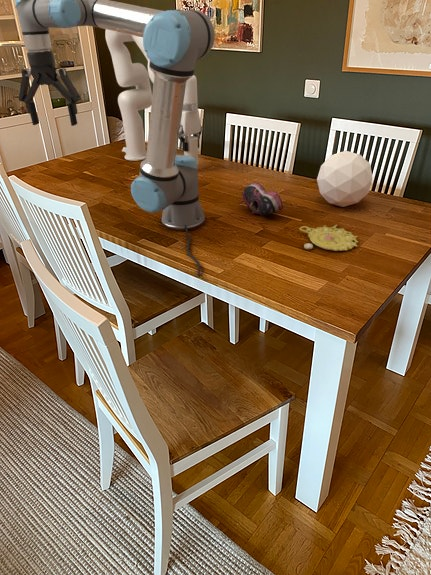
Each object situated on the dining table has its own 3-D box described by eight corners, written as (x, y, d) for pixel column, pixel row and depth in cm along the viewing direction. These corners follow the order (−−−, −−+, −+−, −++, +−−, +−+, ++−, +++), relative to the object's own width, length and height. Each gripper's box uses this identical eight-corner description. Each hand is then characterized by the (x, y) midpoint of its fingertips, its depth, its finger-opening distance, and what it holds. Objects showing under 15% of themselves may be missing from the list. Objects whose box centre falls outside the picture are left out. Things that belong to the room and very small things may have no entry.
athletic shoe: (254, 181, 170) (227, 189, 167) (283, 176, 151) (253, 185, 147) (260, 210, 173) (234, 218, 170) (290, 209, 154) (261, 219, 150)
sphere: (348, 225, 166) (362, 196, 147) (303, 198, 170) (311, 167, 152) (373, 189, 171) (391, 157, 152) (328, 164, 175) (340, 130, 156)
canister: (187, 161, 206) (186, 135, 199) (200, 162, 204) (199, 136, 197) (182, 166, 200) (181, 138, 194) (195, 167, 199) (194, 139, 192)
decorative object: (343, 255, 128) (285, 234, 139) (342, 262, 130) (284, 241, 140) (372, 230, 142) (317, 213, 152) (371, 237, 143) (316, 219, 153)
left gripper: (196, 102, 196) (198, 143, 206) (168, 109, 185) (171, 152, 195) (209, 104, 192) (210, 146, 202) (180, 111, 181) (183, 155, 191)
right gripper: (83, 49, 133) (95, 122, 145) (9, 50, 138) (26, 121, 149) (72, 51, 127) (85, 127, 139) (-6, 52, 132) (14, 126, 143)
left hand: (190, 148), depth 198 cm, fingers closed on canister, 6 cm apart
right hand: (55, 124), depth 144 cm, fingers open, 13 cm apart
